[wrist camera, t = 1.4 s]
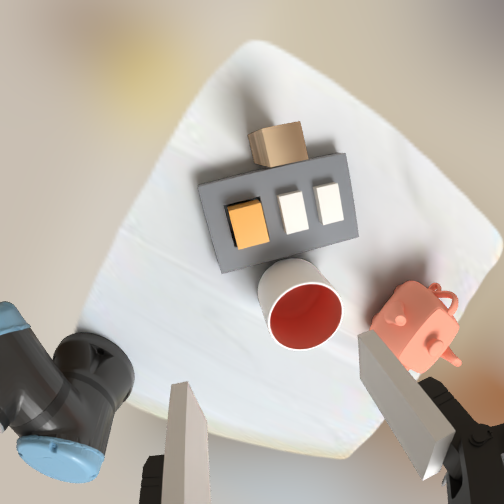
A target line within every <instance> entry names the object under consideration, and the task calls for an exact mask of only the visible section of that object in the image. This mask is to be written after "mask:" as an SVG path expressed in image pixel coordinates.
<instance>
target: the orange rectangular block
mask: <svg viewBox="0 0 504 504" xmlns="http://www.w3.org/2000/svg"><path fill="white" fill-rule="evenodd" d="M227 208H228V212H229V216H230V220H231V224H232V227H233V231H234V235H235V239H236V243H237V246H238V250H240V249H243V248H247V247H251V246H255V245H259V244H262V243H266V242H270V241H269V236H268V232H267V228H266V223H265V219H264V215H263V210H262V206H261V203H260V202H259V201H258V200H257V199H255V200H251V201H247V202H243V203H239V204H236V205H232V206H228V207H227Z"/></svg>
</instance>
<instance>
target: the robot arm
mask: <svg viewBox="0 0 504 504" xmlns="http://www.w3.org/2000/svg"><path fill="white" fill-rule="evenodd" d="M30 327H31V326H30V325H29V324H28V323H26V321H25V320H24V318H23V317H22V316H21V314H20V313H19V311H18V310H17V308H16V307H15V306H14V305H13V304H12V303H10V302H6V301H4V302H0V433H3V432H4V431H5V430H6V429H7V427H8V426H10V427H11V428H12V429H13V430H14V432H15V433H16V434H17V435H18V436H19V439H18V440H17V447H16V448H17V451H18V454H19V455H20V457H21V458H22V459H23V460H24V461H25V462H26V463H27V464H28V465H29V466H31V467H32V468H34V469H36V470H37V471H39V472H40V473H42V474H44V475H47V476H49V477H51V478H54V479H57V480H60V481H64V482H70V483H86V482H89V481H92V480H93V479H95V478H96V477H97V475H98V474H99V471H100V467H101V464H102V462H103V461H104V458H105V457H104V456H105V451H106V447H107V443H108V438H109V434H110V430H111V426H112V421H113V418H114V414H115V412H116V411H117V409H118V408H119V407H120V406H121V405H122V403H123V402H124V401H125V400H126V399H127V398H128V397H129V395H130V393H131V391H132V388H133V384H134V378H135V377H134V370H133V367H132V364H131V362H130V360H129V359H128V357H127V356H126V355H125V353H124V352H123V351H122V350H121V349H120V348H119V347H117V346H116V345H115V344H114V343H112V342H111V341H109V340H107V339H105V338H103V337H101V336H98V335H95V334H90V333H75V334H71V335H69V336H67V337H66V338H64V339H63V340H62V341H61V343H60V344H59V346H58V347H57V349H56V350H55V353H54V356H53V360H52V359H51V357H50V356H49V354H48V353H47V352H46V350H45V349H44V347H43V346H42V345H41V343H40V342H39V340H38V339H37V337H36V336H35V334H34V333H33V331H32V330H31V328H30ZM358 347H359V365H360V379H361V381H362V383H363V384H364V386H365V387H366V389H367V391H368V392H369V394H370V395H371V397H372V399H373V400H374V402H375V403H376V405H377V407H378V408H379V410H380V412H381V413H382V415H383V416H384V418H385V420H386V421H387V423H388V425H389V426H390V428H391V429H392V431H393V433H394V434H395V436H396V438H397V439H398V441H399V443H400V444H401V445H402V447H403V449H404V451H405V452H406V454H407V456H408V457H409V459H410V461H411V462H412V464H413V466H414V467H415V469H416V471H417V472H418V474H419V476H420V477H421V479H422V480H425V479H427V478H428V477H430V476H432V475H434V474H436V473H438V472H439V471H440V470H441V467H442V465H444V466H445V468H446V469H447V473H446V475H445V477H444V479H443V481H442V486H444V485H445V483H447V493H448V504H504V423H503V424H500V425H497V426H492V427H490V426H488V425H485V424H478V423H477V422H476V421H474V420H473V419H472V417H471V416H470V415H469V414H468V412H467V411H466V410H465V409H464V408H463V407H462V406H461V404H460V403H459V402H458V401H457V400H456V399H454V397H453V395H452V394H451V393H450V392H448V390H447V388H446V387H445V386H444V385H443V384H442V383H441V382H440V381H438V380H436V379H434V378H432V377H428V378H426V379H424V380H422V381H420V382H418V383H417V382H416V380H415V379H414V378H413V377H412V375H411V374H410V373H409V372H408V371H407V369H406V368H405V367H404V366H403V365H402V363H401V362H400V361H399V360H398V359H397V357H396V356H395V355H394V354H393V353H392V351H391V350H390V349H389V348H388V347H387V345H386V344H385V343H384V342H383V341H382V340H381V338H380V337H379V336H378V335H377V334H376V332H375V331H374V330H370V331H367V332H365V333H362V334H359V335H358ZM139 504H211V493H210V475H209V454H208V430H207V420H206V418H205V416H204V414H203V412H202V410H201V408H200V406H199V404H198V402H197V400H196V398H195V396H194V394H193V391H192V389H191V387H190V385H189V383H188V381H187V382H182V383H177V384H172V385H171V393H170V402H169V411H168V421H167V432H166V444H165V455H156V456H149V458H148V459H147V461H146V463H145V464H144V467H143V473H142V481H141V491H140V500H139Z"/></svg>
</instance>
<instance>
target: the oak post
mask: <svg viewBox="0 0 504 504" xmlns="http://www.w3.org/2000/svg"><path fill="white" fill-rule="evenodd" d="M248 139H249V143H250V147H251V151H252V155H253V160H254V163H255V164H259V165H263V166H267V167H275V166H279V165H284V164H288V163H293V162H298V161H302V160H307V159H308V154H307V150H306V145H305V140H304V136H303V131H302V127H301V123H300V121H298V122H293V123H287V124H282V125H277V126H272V127H267V128H262V129H260V130H257V131H255V132H253V133H251V134H249V135H248Z"/></svg>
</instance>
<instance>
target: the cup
mask: <svg viewBox="0 0 504 504" xmlns="http://www.w3.org/2000/svg"><path fill="white" fill-rule="evenodd" d="M258 300H259V303H260V306H261V309H262V312H263V315H264V318H265V321H266V324H267V327H268V330H269V333H270V335H271V337H272V338H273V340H274V341H275V342H276V343H277V344H279V345H280V346H282V347H284V348H286V349H289V350H295V351H304V350H310V349H313V348H316V347H318V346H320V345H322V344H324V343H325V342H326V341H328V340H329V339H330V338H331V337H332V336H333V335H334V334H335V333H336V331H337V330H338V328H339V326H340V324H341V322H342V319H343V313H344V307H343V302H342V299H341V297H340V295H339V294H338V292H337V291H336V290H335V289H334V288H333V286H332V285H331V284H330V283H329V282H328V281H327V279H326V278H325V277H324V276H323V275H322V274H321V273H320V271H319V270H318V269H317V268H316V267H315V266H314V265H313V264H311V263H310V262H308V261H306V260H303V259H299V258H288V259H283V260H281V261H278V262H276V263H275V264H273V265H272V266H270V267H269V268H268V269H267V270H266V271H265V273H264V274H263V275H262V277H261V279H260V282H259V285H258Z"/></svg>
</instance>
